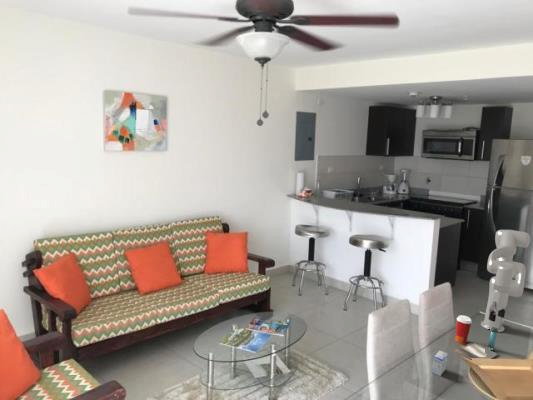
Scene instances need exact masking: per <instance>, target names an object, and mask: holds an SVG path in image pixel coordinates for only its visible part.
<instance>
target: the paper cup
mask: <svg viewBox="0 0 533 400" xmlns="http://www.w3.org/2000/svg"><path fill="white" fill-rule="evenodd" d="M472 323H473V322H472V319H471V317H469V316H467V315H458V316H457V317H456V327H455V328H456V329H455V337H454V338H455V340H454V342H456V343H458V344H460V345H467V342H468V337H469V335H470V330H471V325H472Z"/></svg>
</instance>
